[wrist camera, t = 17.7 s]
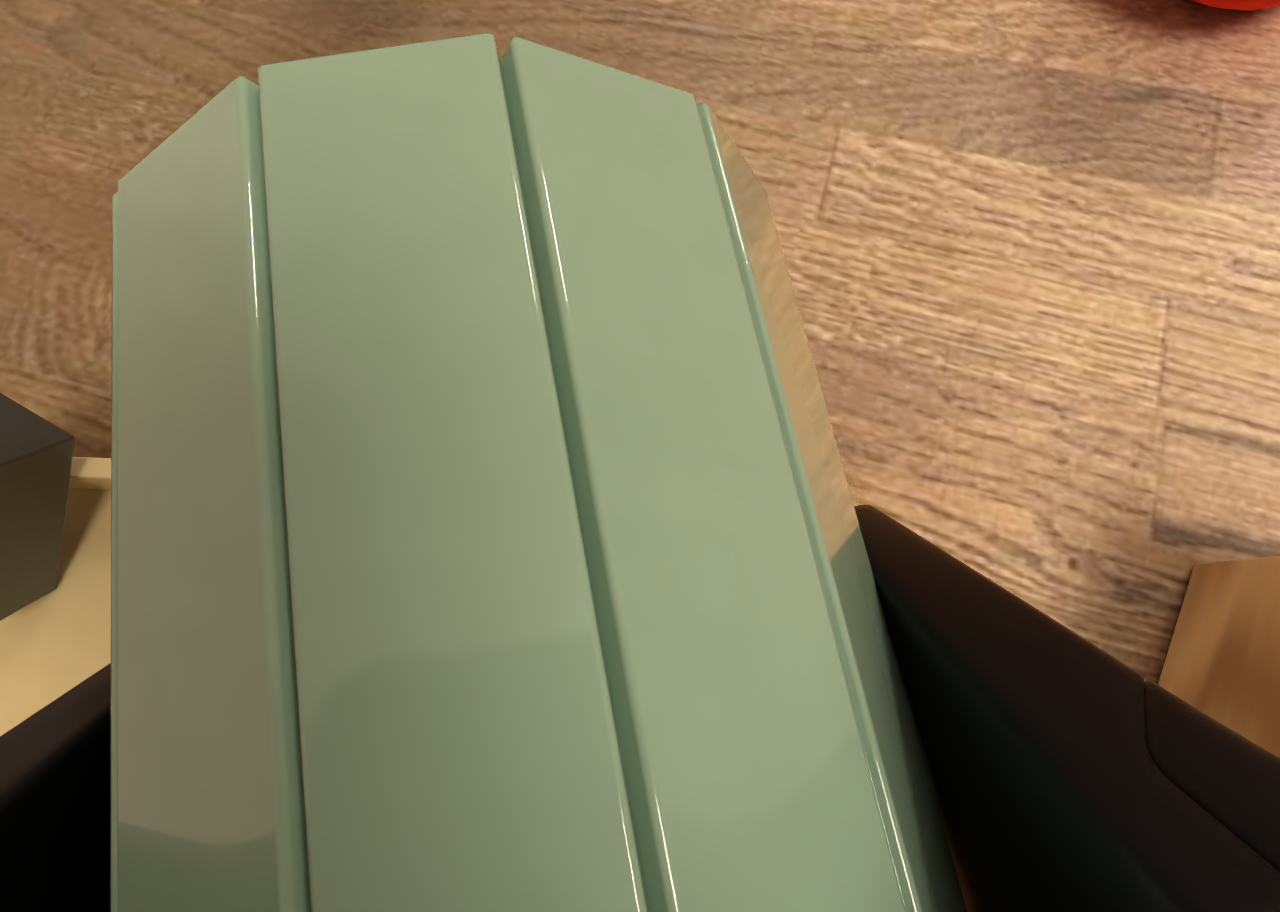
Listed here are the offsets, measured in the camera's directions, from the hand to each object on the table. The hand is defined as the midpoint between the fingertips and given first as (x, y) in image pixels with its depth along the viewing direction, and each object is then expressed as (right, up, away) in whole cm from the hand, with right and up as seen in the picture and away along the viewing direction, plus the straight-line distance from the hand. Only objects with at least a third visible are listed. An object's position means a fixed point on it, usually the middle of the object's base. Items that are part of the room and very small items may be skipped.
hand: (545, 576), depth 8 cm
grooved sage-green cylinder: (0, -2, -1) cm, 2 cm away
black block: (-17, 0, +10) cm, 19 cm away
